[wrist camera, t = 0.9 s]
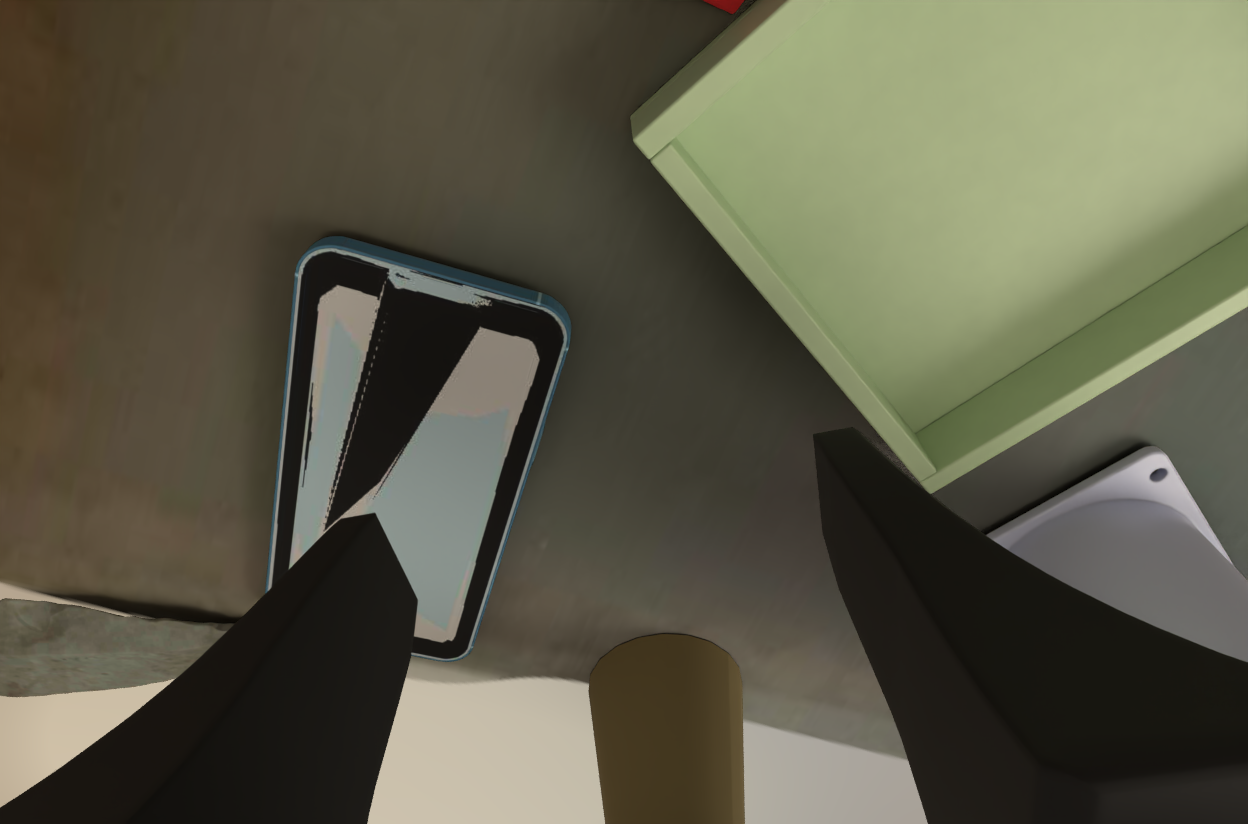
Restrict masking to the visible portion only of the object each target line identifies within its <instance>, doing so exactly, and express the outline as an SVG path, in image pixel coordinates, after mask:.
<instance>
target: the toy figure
mask: <svg viewBox="0 0 1248 824" xmlns="http://www.w3.org/2000/svg"><path fill="white" fill-rule="evenodd" d="M703 1H705V2H707V3H709V4H711V5H713V6H715V7H717V8H720V9H722V10H725V11H727V12H729V13H730V14H733V13H735V12H736V11H737V10H738V8H739V7H740V5H741V4H742V3H743V2H744V0H703Z"/></svg>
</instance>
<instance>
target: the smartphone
mask: <svg viewBox="0 0 1248 824" xmlns="http://www.w3.org/2000/svg"><path fill="white" fill-rule="evenodd" d="M570 337H571V322H570V318H569V315H568V313H567V312H566V310H565V308H564V307H563V306H562V305H561V304H560V303H559V302H558V301H557V300H555V299H554V298H552V297H551V296H549V295H546V294H544V293H540V292H537V291H533V290H530V289H526V288H523V287H519V286H516V285H512V284H509V283H505V282H502V281H498V280H495V279H491V278H488V277H484V276H481V275H477V274H474V273H470V272H467V271H463V270H460V269H456V268H453V267H449V266H446V265H442V264H439V263H435V262H432V261H428V260H425V259H421V258H418V257H414V256H411V255H407V254H404V253H400V252H397V251H393V250H390V249H386V248H383V247H379V246H376V245H372V244H369V243H365V242H362V241H358V240H355V239H351V238H347V237H343V236H331V237H326V238H323V239H320V240H318V241H317V242H315V243H314V244H313V245H312V246H311V247H310V248H309V249H308V250H307V251H306V252H305V253H304V254H303V256H302V257H301V258H300V260H299V262H298V264H297V266H296V271H295V279H294V290H293V301H292V311H291V322H290V333H289V343H288V354H287V365H286V375H285V386H284V397H283V407H282V418H281V429H280V440H279V450H278V461H277V472H276V482H275V493H274V504H273V514H272V525H271V536H270V546H269V557H268V568H267V578H266V589H265V594H266V593H267V591H268V590H269V589H270V588H271V587H272V586H273V585H274V584H275V583H276V582H277V581H278V580H279V579H280V578H281V577H282V576H283V575H284V574H285V573H286V572H287V571H288V570H289V569H290V568H291V567H292V566H293V565H294V564H295V563H296V562H297V561H298V560H299V559H300V558H301V556H302V555H303V554H304V553H305V552H306V551H307V550H308V549H309V548H310V547H311V546H312V545H313V544H314V543H315V542H316V541H317V540H318V539H319V538H320V537H321V536H322V535H323V534H324V533H325V532H326V531H327V530H328V529H329V528H331V527H332V526H333V525H334V524H335V523H336V522H337V521H338V520H340V519H341V518H347V517H353V516H358V515H364V514H369V513H376V515H377V517H378V519H379V521H380V524H381V526H382V528H383V530H384V532H385V534H386V536H387V538H388V540H389V542H390V544H391V546H392V548H393V550H394V552H395V554H396V556H397V558H398V560H399V562H400V564H401V566H402V568H403V570H404V572H405V574H406V576H407V578H408V580H409V582H410V584H411V586H412V588H413V591H414V593H415V595H416V597H417V599H418V606H417V615H416V624H415V632H414V639H413V646H412V653H411V656H415V657H420V658H425V659H430V660H436V661H442V662H452V661H457V660H460V659H463V658H464V657H466V656H467V655H468V654H470V652H471V651H472V649H473V646H474V643H475V640H476V637H477V634H478V630H479V627H480V624H481V621H482V618H483V615H484V612H485V609H486V605H487V602H488V599H489V596H490V593H491V590H492V587H493V583H494V580H495V577H496V574H497V571H498V568H499V565H500V562H501V558H502V555H503V552H504V549H505V546H506V543H507V540H508V537H509V533H510V530H511V527H512V524H513V521H514V518H515V515H516V511H517V508H518V505H519V502H520V499H521V496H522V493H523V490H524V486H525V483H526V480H527V477H528V474H529V471H530V468H531V465H533V462H534V459H535V456H536V452H537V449H538V446H539V443H540V440H541V437H542V434H543V431H544V427H545V421H546V417H547V414H548V411H549V408H550V405H551V402H552V399H553V396H554V392H555V389H556V386H557V383H558V380H559V377H560V374H561V371H562V367H563V364H564V361H565V358H566V355H567V352H568V349H569V344H570Z"/></svg>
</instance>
